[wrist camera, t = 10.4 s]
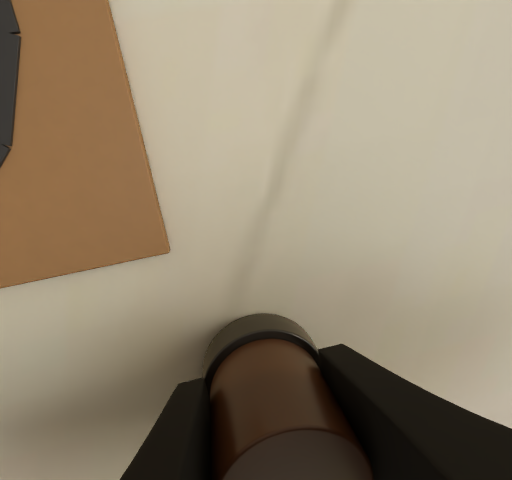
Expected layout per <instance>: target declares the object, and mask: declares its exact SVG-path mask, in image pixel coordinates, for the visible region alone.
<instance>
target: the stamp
mask: <svg viewBox="0 0 512 480" xmlns="http://www.w3.org/2000/svg"><path fill="white" fill-rule="evenodd" d="M202 378H205V383H206V387H207V391H208V395H209V399H210V404H211V480H374V476H373V469H372V466H371V463H370V460H369V458H368V456H367V454H366V452H365V450H364V449H363V447H362V445H361V443H360V441H359V440H358V438H357V436H356V434H355V432H354V431H353V429H352V427H351V425H350V423H349V422H348V420H347V418H346V416H345V414H344V412H343V411H342V409H341V407H340V405H339V403H338V402H337V400H336V398H335V396H334V394H333V393H332V391H331V389H330V387H329V385H328V384H327V382H326V380H325V378H324V376H323V375H322V372H321V366H320V359H319V353H318V350H317V348H316V346H315V345H314V343H313V341H312V340H311V338H310V337H309V335H308V334H307V332H306V331H305V330H304V329H303V328H302V327H301V326H299V325H298V324H297V323H295V322H293V321H292V320H290V319H288V318H285V317H282V316H279V315H273V314H255V315H250V316H246V317H243V318H241V319H238V320H236V321H234V322H232V323H231V324H229V325H228V326H226V327H225V328H224V329H223V330H222V331H220V332H219V333H218V334H217V336H216V337H215V338H214V339H213V341H212V342H211V344H210V345H209V347H208V349H207V351H206V354H205V357H204V361H203V371H202Z"/></svg>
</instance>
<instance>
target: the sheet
mask: <svg viewBox="0 0 512 480" xmlns="http://www.w3.org/2000/svg"><path fill="white" fill-rule="evenodd" d="M169 251H170V247H169V243H168V239H167V235H166V231H165V227H164V223H163V219H162V215H161V211H160V207H159V203H158V199H157V195H156V191H155V187H154V183H153V179H152V175H151V171H150V167H149V163H148V159H147V155H146V151H145V147H144V143H143V139H142V135H141V131H140V126H139V122H138V118H137V114H136V110H135V106H134V102H133V98H132V94H131V90H130V86H129V82H128V78H127V74H126V70H125V66H124V62H123V58H122V54H121V50H120V46H119V42H118V38H117V34H116V30H115V26H114V22H113V18H112V14H111V10H110V6H109V2H108V0H0V288H4V287H9V286H13V285H18V284H23V283H28V282H32V281H37V280H42V279H47V278H51V277H56V276H61V275H66V274H70V273H75V272H80V271H85V270H90V269H94V268H99V267H104V266H109V265H113V264H118V263H123V262H128V261H132V260H137V259H142V258H147V257H151V256H156V255H161V254H166V253H169Z"/></svg>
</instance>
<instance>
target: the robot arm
mask: <svg viewBox="0 0 512 480" xmlns="http://www.w3.org/2000/svg"><path fill="white" fill-rule="evenodd" d="M318 353H319V359H320V366H321V372H322V375H323V376H324V378H325V380H326V382H327V384H328V385H329V387H330V389H331V391H332V393H333V394H334V396H335V398H336V400H337V402H338V403H339V405H340V407H341V409H342V411H343V412H344V414H345V416H346V418H347V420H348V422H349V423H350V425H351V427H352V429H353V431H354V432H355V434H356V436H357V438H358V440H359V441H360V443H361V445H362V447H363V449H364V450H365V452H366V454H367V456H368V458H369V460H370V463H371V466H372V469H373V476H374V480H512V429H511V428H508V427H506V426H503V425H501V424H498V423H496V422H494V421H491V420H489V419H486V418H484V417H481V416H479V415H477V414H475V413H472V412H470V411H468V410H466V409H463V408H461V407H459V406H457V405H455V404H453V403H451V402H449V401H447V400H444V399H442V398H440V397H438V396H436V395H434V394H432V393H430V392H428V391H426V390H424V389H422V388H420V387H418V386H416V385H414V384H413V383H411V382H409V381H407V380H405V379H403V378H401V377H400V376H398V375H396V374H394V373H392V372H391V371H389V370H387V369H385V368H383V367H382V366H380V365H378V364H376V363H375V362H373V361H371V360H370V359H368V358H366V357H364V356H363V355H361V354H359V353H358V352H356V351H354V350H352V349H351V348H349V347H347V346H345V345H343V344H339V345H335V346H331V347H326V348H322V349H318ZM120 480H211V404H210V399H209V395H208V391H207V387H206V383H205V378H200V379H196V380H192V381H188V382H184V383H180V384H178V385H177V387H176V388H175V390H174V392H173V393H172V395H171V397H170V399H169V400H168V402H167V404H166V406H165V407H164V409H163V411H162V413H161V414H160V416H159V418H158V419H157V421H156V423H155V425H154V426H153V428H152V430H151V431H150V433H149V435H148V436H147V438H146V439H145V441H144V443H143V444H142V446H141V447H140V449H139V451H138V452H137V454H136V456H135V457H134V459H133V460H132V462H131V463H130V465H129V466H128V468H127V469H126V471H125V472H124V474H123V475H122V477H121V478H120Z"/></svg>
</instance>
